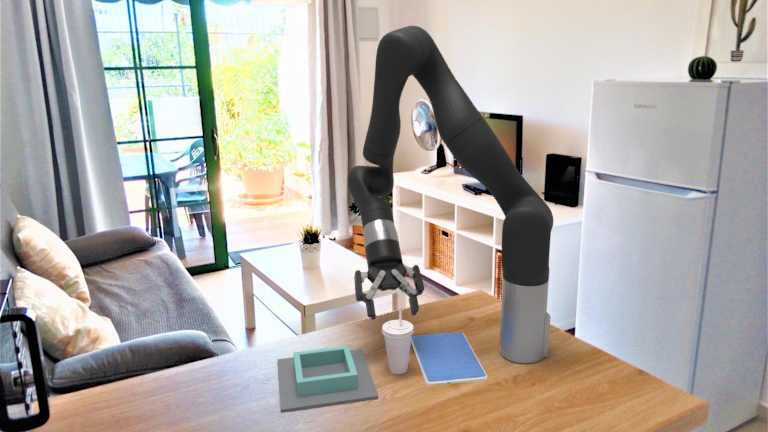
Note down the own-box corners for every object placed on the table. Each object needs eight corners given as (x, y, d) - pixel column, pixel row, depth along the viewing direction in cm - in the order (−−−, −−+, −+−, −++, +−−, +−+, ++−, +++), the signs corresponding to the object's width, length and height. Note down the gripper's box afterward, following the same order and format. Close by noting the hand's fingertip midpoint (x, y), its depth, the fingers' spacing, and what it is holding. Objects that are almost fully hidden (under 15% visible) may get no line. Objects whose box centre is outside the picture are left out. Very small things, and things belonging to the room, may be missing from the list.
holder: (361, 351, 124) (361, 336, 123) (378, 398, 108) (378, 381, 107) (277, 361, 121) (276, 346, 120) (281, 412, 104) (279, 395, 103)
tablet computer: (489, 382, 113) (489, 376, 113) (426, 388, 111) (426, 382, 111) (463, 336, 131) (463, 330, 131) (408, 340, 130) (408, 335, 129)
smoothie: (411, 379, 114) (411, 315, 110) (379, 376, 115) (378, 312, 111) (416, 362, 120) (415, 300, 116) (386, 359, 121) (384, 298, 117)
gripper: (350, 240, 120) (361, 314, 112) (416, 234, 123) (431, 306, 115) (348, 255, 126) (358, 326, 119) (410, 250, 129) (424, 318, 122)
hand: (394, 316), depth 117 cm, fingers open, 8 cm apart
